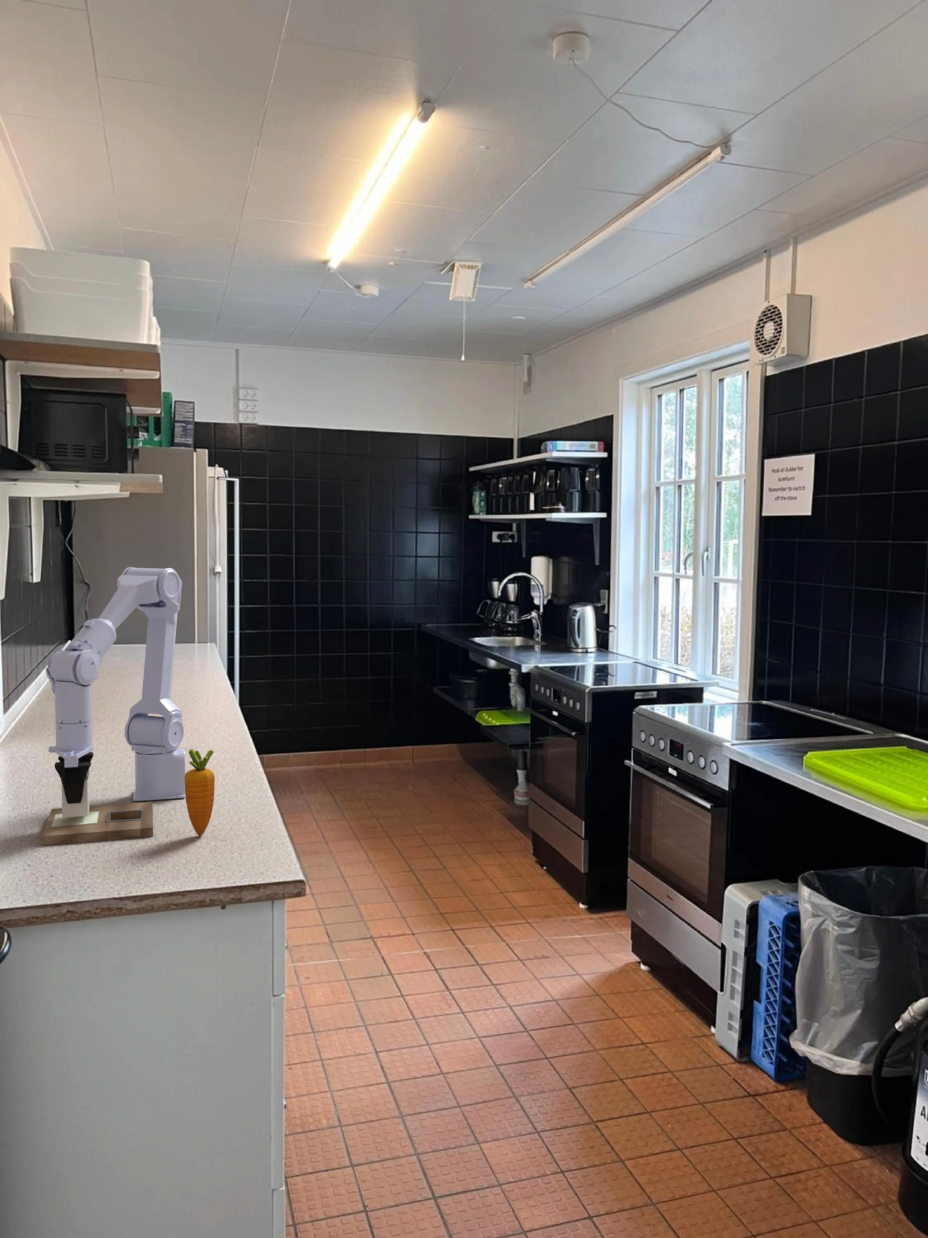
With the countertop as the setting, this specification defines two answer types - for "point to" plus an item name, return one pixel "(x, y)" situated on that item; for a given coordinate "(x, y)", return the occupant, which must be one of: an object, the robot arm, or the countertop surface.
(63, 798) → the plug
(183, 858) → the countertop surface
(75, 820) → the brown board with panel
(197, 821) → the carrot
